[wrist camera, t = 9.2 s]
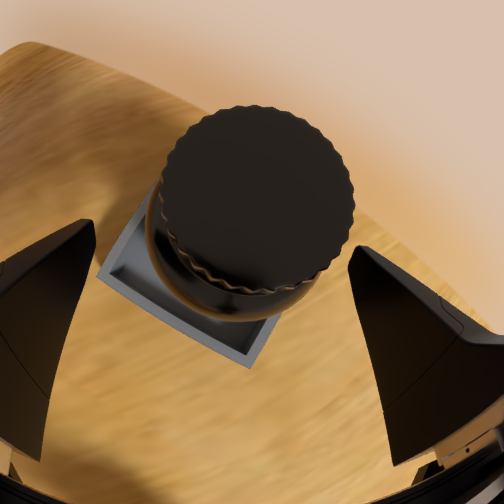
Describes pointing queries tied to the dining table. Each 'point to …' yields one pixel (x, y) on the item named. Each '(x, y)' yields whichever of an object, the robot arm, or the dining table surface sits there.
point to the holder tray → (168, 306)
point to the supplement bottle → (248, 213)
